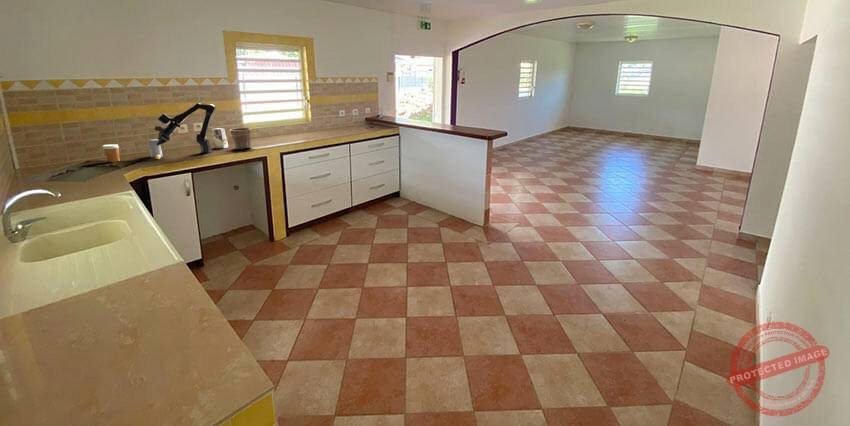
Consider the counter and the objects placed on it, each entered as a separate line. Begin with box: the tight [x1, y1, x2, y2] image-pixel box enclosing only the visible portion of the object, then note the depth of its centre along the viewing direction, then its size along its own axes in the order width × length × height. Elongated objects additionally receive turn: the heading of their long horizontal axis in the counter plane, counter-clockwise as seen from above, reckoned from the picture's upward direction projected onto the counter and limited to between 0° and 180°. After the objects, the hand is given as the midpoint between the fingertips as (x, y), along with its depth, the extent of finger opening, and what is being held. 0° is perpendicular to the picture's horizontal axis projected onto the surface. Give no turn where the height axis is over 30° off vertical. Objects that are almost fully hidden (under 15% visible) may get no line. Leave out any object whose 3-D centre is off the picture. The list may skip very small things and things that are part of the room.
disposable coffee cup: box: [102, 143, 121, 163], centre depth 290 cm, size 10×10×12 cm
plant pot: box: [229, 127, 252, 150], centre depth 340 cm, size 16×16×16 cm
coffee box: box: [211, 127, 229, 149], centre depth 343 cm, size 9×6×16 cm
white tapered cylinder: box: [147, 138, 163, 158], centre depth 308 cm, size 7×7×12 cm
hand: (156, 144), depth 308 cm, fingers open, 9 cm apart
